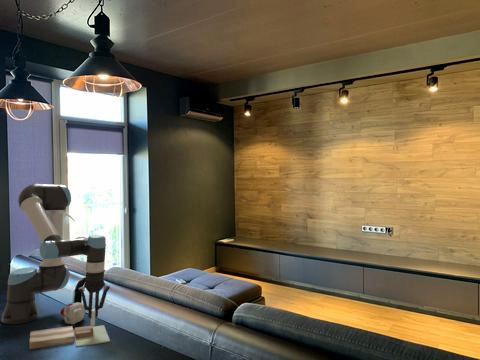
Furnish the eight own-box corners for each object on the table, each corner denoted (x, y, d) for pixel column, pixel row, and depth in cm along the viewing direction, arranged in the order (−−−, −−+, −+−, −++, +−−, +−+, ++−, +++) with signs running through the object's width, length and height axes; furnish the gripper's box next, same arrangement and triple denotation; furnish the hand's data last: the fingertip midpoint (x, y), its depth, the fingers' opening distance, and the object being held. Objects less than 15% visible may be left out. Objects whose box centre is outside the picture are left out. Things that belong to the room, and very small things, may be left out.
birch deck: (30, 337, 152) (30, 331, 152) (72, 331, 159) (72, 325, 159) (29, 349, 141) (29, 342, 141) (73, 342, 149) (74, 336, 149)
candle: (76, 326, 163) (51, 325, 168) (94, 318, 174) (70, 317, 179) (75, 306, 164) (50, 305, 169) (93, 299, 174) (69, 299, 179)
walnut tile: (74, 332, 157) (74, 327, 157) (91, 330, 161) (92, 325, 161) (75, 338, 151) (75, 333, 151) (93, 336, 154) (93, 331, 154)
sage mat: (73, 330, 160) (73, 329, 160) (103, 326, 167) (103, 325, 167) (76, 347, 145) (76, 345, 145) (109, 341, 151) (109, 340, 151)
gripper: (79, 274, 152) (76, 330, 151) (112, 271, 158) (109, 325, 157) (78, 270, 158) (75, 324, 158) (109, 268, 164) (107, 319, 164)
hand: (92, 324), depth 158 cm, fingers closed
